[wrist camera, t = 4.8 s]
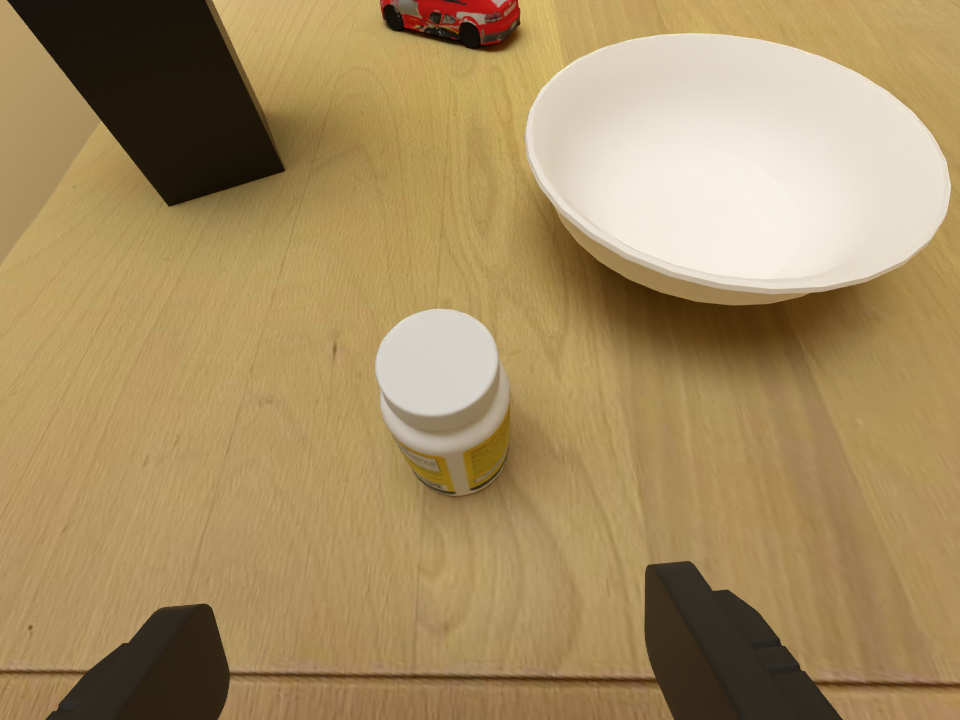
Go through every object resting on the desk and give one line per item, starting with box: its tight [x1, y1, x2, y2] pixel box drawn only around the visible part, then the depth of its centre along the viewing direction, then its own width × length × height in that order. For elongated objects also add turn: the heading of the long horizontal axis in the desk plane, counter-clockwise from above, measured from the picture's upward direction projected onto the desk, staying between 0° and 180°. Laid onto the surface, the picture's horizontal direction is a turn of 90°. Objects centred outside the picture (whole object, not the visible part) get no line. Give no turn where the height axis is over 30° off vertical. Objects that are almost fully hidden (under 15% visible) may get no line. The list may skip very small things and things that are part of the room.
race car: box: [380, 0, 520, 48], centre depth 40 cm, size 13×5×4 cm, turn 61°
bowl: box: [524, 33, 951, 306], centre depth 26 cm, size 20×20×6 cm
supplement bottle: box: [375, 309, 511, 496], centre depth 18 cm, size 5×5×8 cm
